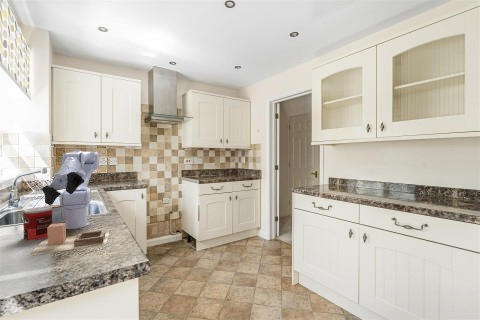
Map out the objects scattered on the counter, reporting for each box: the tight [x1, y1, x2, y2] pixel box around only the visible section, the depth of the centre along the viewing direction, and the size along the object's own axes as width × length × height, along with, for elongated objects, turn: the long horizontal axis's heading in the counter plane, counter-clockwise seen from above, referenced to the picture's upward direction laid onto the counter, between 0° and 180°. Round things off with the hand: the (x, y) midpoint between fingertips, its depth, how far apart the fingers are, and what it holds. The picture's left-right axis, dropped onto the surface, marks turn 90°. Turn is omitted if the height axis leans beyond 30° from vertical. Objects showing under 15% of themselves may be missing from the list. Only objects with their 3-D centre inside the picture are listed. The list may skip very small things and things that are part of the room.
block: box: [47, 223, 67, 246], centre depth 77 cm, size 4×4×6 cm
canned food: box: [22, 206, 52, 241], centre depth 83 cm, size 8×8×11 cm
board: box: [27, 229, 110, 257], centre depth 77 cm, size 14×20×3 cm
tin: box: [43, 204, 65, 224], centre depth 101 cm, size 15×3×8 cm, turn 141°
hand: (58, 197), depth 75 cm, fingers open, 7 cm apart
